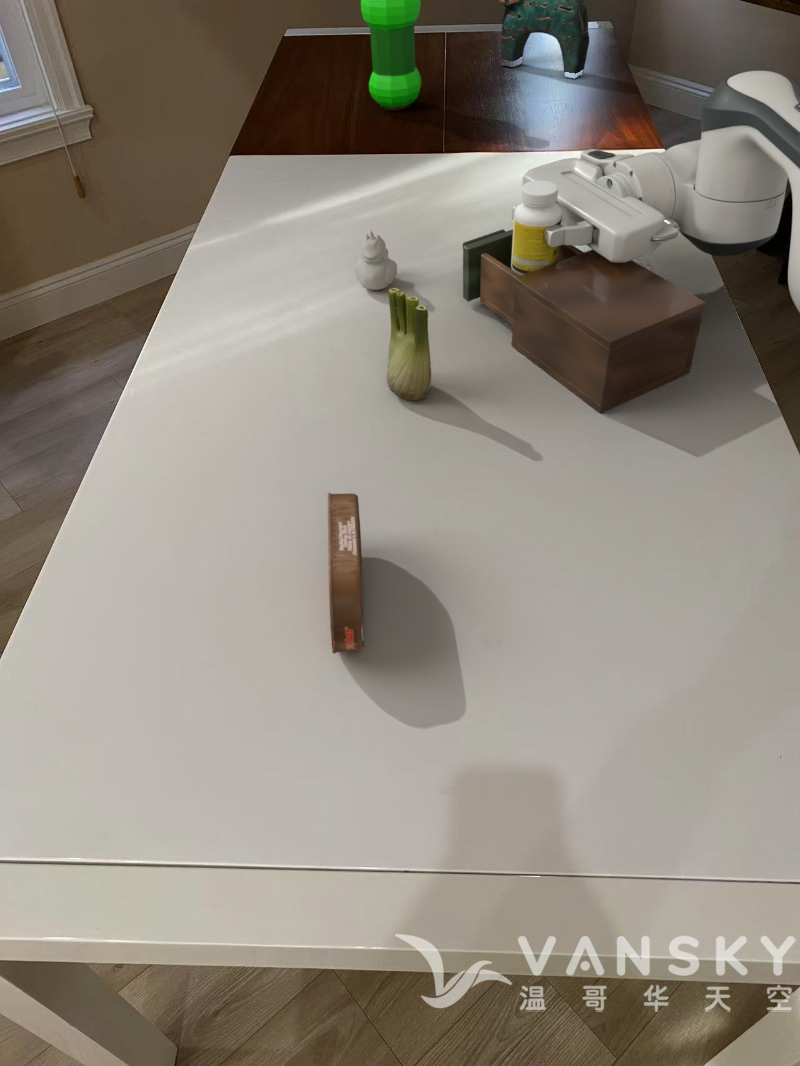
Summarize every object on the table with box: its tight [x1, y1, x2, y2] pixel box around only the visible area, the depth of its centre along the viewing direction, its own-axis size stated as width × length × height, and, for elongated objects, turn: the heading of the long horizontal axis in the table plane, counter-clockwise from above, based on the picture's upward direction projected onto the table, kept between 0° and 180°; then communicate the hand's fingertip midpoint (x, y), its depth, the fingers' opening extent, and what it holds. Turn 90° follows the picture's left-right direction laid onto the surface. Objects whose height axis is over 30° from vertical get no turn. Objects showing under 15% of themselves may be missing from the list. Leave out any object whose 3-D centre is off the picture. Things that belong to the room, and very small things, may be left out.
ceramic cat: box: [496, 0, 590, 74], centre depth 159 cm, size 20×6×20 cm, turn 50°
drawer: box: [462, 228, 585, 327], centre depth 100 cm, size 19×12×7 cm, turn 31°
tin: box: [327, 492, 365, 655], centre depth 68 cm, size 15×3×8 cm, turn 4°
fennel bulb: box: [386, 287, 432, 401], centre depth 88 cm, size 6×5×12 cm
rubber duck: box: [354, 229, 398, 291], centre depth 106 cm, size 5×7×8 cm
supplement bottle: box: [511, 181, 562, 276], centre depth 95 cm, size 5×5×10 cm
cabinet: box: [511, 249, 707, 414], centre depth 91 cm, size 16×13×9 cm
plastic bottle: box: [360, 0, 422, 108], centre depth 147 cm, size 10×10×25 cm
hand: (530, 226), depth 94 cm, fingers closed on supplement bottle, 5 cm apart
